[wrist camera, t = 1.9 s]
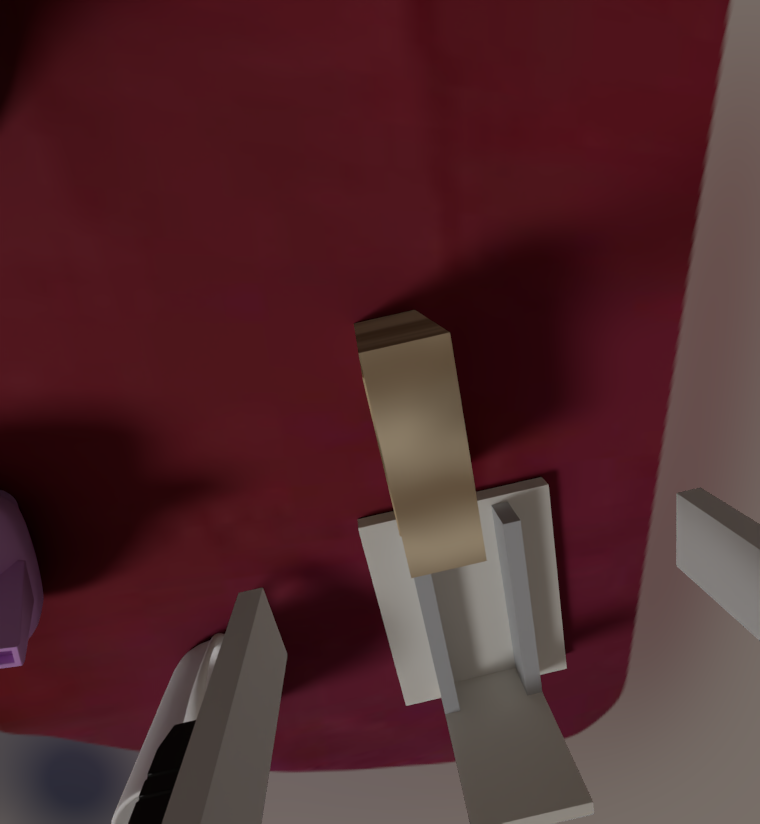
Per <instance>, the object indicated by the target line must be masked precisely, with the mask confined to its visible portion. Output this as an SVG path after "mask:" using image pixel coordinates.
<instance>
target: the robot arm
mask: <svg viewBox="0 0 760 824" xmlns="http://www.w3.org/2000/svg"><path fill="white" fill-rule="evenodd" d="M676 495H677V496H676V497H677V498H676V500H677V501H676V505H677V512H676V515H677V517H676V522H677V523H676V529H677V530H676V538H677V539H676V566H677V567H678V568H679V569H681V570H682V571H683V572H684V573H685V574H686V575H687V576H688V577H689V578H691V579H692V580H693V581H694V582H695V583H696V584H698V586H699V587H701V588H702V589H703V590H704V591H705V592H706V593H707V594H708V595H709V596H711V597H712V598H713V599H714V600H715V601H716V602H717V603H718V604H720V605H721V606H722V607H723V608H724V609H725V610H726V611H727V612H728V613H729V614H731V615H732V616H733V617H734V618H735V619H736V620H737V621H738V622H739V623H741V624H742V625H743V626H744V627H745V628H746V629H747V630H748V631H749V632H750V633H752V634H753V635H754V636H755V637H756V638H757V639H758V640H759V641H760V524H759V523H757V522H755V521H754V520H752V519H751V518H749V517H747V516H745V515H744V514H742V513H740V512H739V511H738V510H736V509H734V508H732V507H731V506H730V505H728V504H726V503H725V502H723V501H722V500H720V499H718V498H717V497H715V496H713V495H712V494H710V493H709V492H707V491H705V490H704V489H702V488H697V489H692V490H688V491H684V492H679V493H677V494H676ZM286 661H287V652H286V649H285V646H284V644H283V641H282V638H281V636H280V633H279V630H278V627H277V625H276V622H275V619H274V617H273V614H272V611H271V608H270V606H269V603H268V600H267V598H266V595H265V592H264V589H263V588H258V589H254V590H250V591H245V592H241V593H238V596H237V599H236V602H235V605H234V608H233V611H232V614H231V617H230V620H229V623H228V626H227V629H226V632H225V635H224V638H223V641H222V644H221V647H220V650H219V653H218V656H217V659H216V662H215V665H214V668H213V671H212V674H211V677H210V680H209V683H208V686H207V689H206V692H205V695H204V698H203V701H202V704H201V707H200V710H199V713H198V716H197V719H196V720H194V721H189V722H185V723H181V724H176V725H174V726H173V728H172V729H171V730H170V732H169V733H168V735H167V736H166V737H165V739H164V740H163V742H162V743H161V744H160V746H159V747H158V749H157V751H156V754H155V756H154V759H153V761H152V764H151V766H150V769H149V771H148V774H147V779H146V780H145V781H144V784H143V786H142V789H141V792H140V794H139V801H138V802H136V804H135V807H134V809H133V812H132V814H131V817H130V819H129V822H128V824H261V823H262V817H263V810H264V803H265V797H266V791H267V784H268V778H269V771H270V765H271V758H272V752H273V745H274V739H275V732H276V726H277V719H278V713H279V706H280V700H281V693H282V687H283V680H284V674H285V667H286Z"/></svg>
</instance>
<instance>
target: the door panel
mask: <svg viewBox="0 0 760 824" xmlns="http://www.w3.org/2000/svg"><path fill="white" fill-rule="evenodd" d="M354 328H355V334H356V340H357V347H358V353H359V359H360V365H361V371H362V377H363V382H364V386H365V390H366V394H367V399H368V403H369V407H370V411H371V416H372V420H373V424H374V428H375V433H376V437H377V441H378V445H379V450H380V454H381V458H382V462H383V467H384V471H385V475H386V479H387V484H388V488H389V492H390V496H391V501H392V505H393V509H394V513H395V518H396V522H397V526H398V530H399V535H400V536H401V537H402V541H403V545H404V550H405V554H406V558H407V563H408V567H409V571H410V575H411V578H415V577H419V576H424V575H428V574H432V573H437V572H441V571H445V570H450V569H454V568H458V567H463V566H467V565H471V564H476V563H480V562H484V561H487V559H486V552H485V546H484V540H483V534H482V528H481V521H480V515H479V509H478V503H477V497H476V490H475V484H474V478H473V472H472V465H471V459H470V453H469V447H468V441H467V434H466V428H465V422H464V416H463V410H462V403H461V397H460V391H459V385H458V379H457V372H456V366H455V360H454V354H453V348H452V341H451V335H450V332H449V331H447V330H446V329H444V328H442V327H441V326H439V325H438V324H436V323H435V322H433V321H432V320H430V319H428V318H427V317H425V316H424V315H422V314H421V313H419V312H418V311H416V310H411V311H407V312H402V313H398V314H394V315H389V316H385V317H381V318H376V319H372V320H367V321H363V322H359V323H354Z"/></svg>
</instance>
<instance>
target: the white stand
mask: <svg viewBox="0 0 760 824" xmlns="http://www.w3.org/2000/svg"><path fill="white" fill-rule="evenodd" d="M476 497H477V503H478V509H479V515H480V521H481V528H482V534H483V540H484V546H485V552H486V559H487V561H484V562H480V563H476V564H471V565H467V566H463V567H458V568H454V569H450V570H445V571H441V572H437V573H432V574H428V575H424V576H419V577H415V578H411V575H410V571H409V567H408V563H407V558H406V554H405V550H404V545H403V541H402V537H401V536H400V535H399V530H398V526H397V522H396V518H395V513H394V511H391V512H387V513H382V514H378V515H374V516H369V517H365V518H361V519H358V530H359V533H360V537H361V541H362V545H363V548H364V552H365V556H366V559H367V563H368V567H369V571H370V574H371V578H372V582H373V585H374V589H375V593H376V596H377V600H378V604H379V608H380V611H381V615H382V619H383V622H384V626H385V630H386V633H387V637H388V641H389V645H390V648H391V652H392V656H393V659H394V663H395V667H396V670H397V674H398V678H399V682H400V685H401V689H402V693H403V696H404V700H405V704H406V706H408V705H412V704H416V703H421V702H425V701H429V700H434V699H438V698H442V702H443V706H444V711H445V715H446V719H447V724H448V728H449V733H450V737H451V742H452V746H453V750H454V755H455V759H456V764H457V768H458V773H459V777H460V782H461V786H462V790H463V795H464V799H465V804H466V808H467V813H468V817H469V822H470V824H554V823H558V822H563V821H566V820H571V819H575V818H580V817H584V816H588V815H592V814H594V806H593V801H592V799H591V796H590V794H589V792H588V790H587V788H586V786H585V783H584V782H583V779H582V777H581V775H580V773H579V770H578V768H577V766H576V764H575V762H574V760H573V757H572V755H571V753H570V751H569V749H568V747H567V745H566V742H565V740H564V738H563V736H562V734H561V732H560V729H559V727H558V725H557V723H556V721H555V719H554V716H553V714H552V712H551V710H550V708H549V706H548V703H547V701H546V699H545V697H544V695H543V693H542V687H541V679H540V675H541V674H546V673H550V672H554V671H559V670H563V669H567V666H566V656H565V646H564V636H563V626H562V616H561V606H560V595H559V585H558V575H557V565H556V555H555V545H554V535H553V524H552V514H551V504H550V494H549V484H548V483H547V482H546V481H545V480H544V479H543V478H542V477H539V478H534V479H530V480H526V481H521V482H517V483H513V484H508V485H504V486H500V487H495V488H491V489H487V490H482V491H478V492H476Z"/></svg>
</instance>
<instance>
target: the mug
mask: <svg viewBox="0 0 760 824" xmlns="http://www.w3.org/2000/svg"><path fill="white" fill-rule="evenodd" d="M224 635H225V634H222V633H217V634H215V635H214V636H213V637H212V638H211V640H209V641H206V642H204V643H201V644H199V645H198V646H196V647H194V648H193V649H192V650H190V651H189V652H188V653H187V654H186V655H185V656H184V657H183V658H182V659H181V661H180V662H179V663H178V665H177V667H176V669H175V671H174V673H173V675H172V677H171V679H170V682H169V684H168V686H167V689H166V691H165V694H164V696H163V698H162V701H161V703H160V705H159V708H158V710H157V713H156V715H155V717H154V720H153V722H152V725H151V727H150V729H149V732H148V734H147V736H146V739H145V741H144V744H143V746H142V748H141V751H140V753H139V756H138V758H137V760H136V763H135V765H134V768H133V770H132V772H131V775H130V777H129V779H128V782H127V784H126V787H125V789H124V791H123V794H122V796H121V798H120V801H119V803H118V806H117V808H116V810H115V813H114V816H113V818H112V823H111V824H128V822H129V819H130V817H131V814H132V812H133V809H134V807H135V804H136V802H138V801H139V794H140V792H141V789H142V786H143V784H144V781H145V780H146V779H147V774H148V771H149V769H150V766H151V764H152V761H153V759H154V756H155V754H156V751H157V749H158V747H159V746H160V744H161V743H162V742H163V740H164V739H165V737H166V736H167V735H168V733H169V732H170V730H171V729H172V728H173V726H174V725H176V724H181V723H185V722H189V721H194V720H196V719H197V716H198V713H199V710H200V707H201V704H202V701H203V698H204V695H205V692H206V689H207V686H208V683H209V680H210V677H211V674H212V671H213V668H214V665H215V662H216V659H217V656H218V653H219V650H220V647H221V644H222V641H223V638H224Z"/></svg>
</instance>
